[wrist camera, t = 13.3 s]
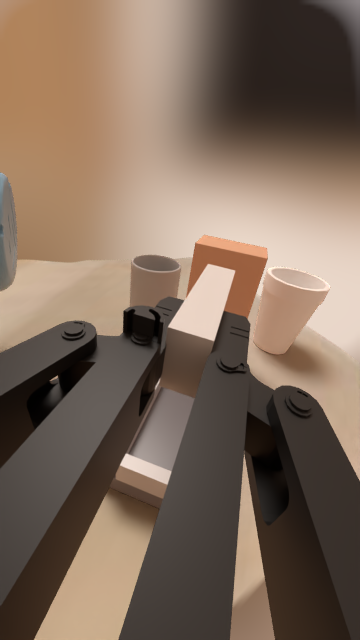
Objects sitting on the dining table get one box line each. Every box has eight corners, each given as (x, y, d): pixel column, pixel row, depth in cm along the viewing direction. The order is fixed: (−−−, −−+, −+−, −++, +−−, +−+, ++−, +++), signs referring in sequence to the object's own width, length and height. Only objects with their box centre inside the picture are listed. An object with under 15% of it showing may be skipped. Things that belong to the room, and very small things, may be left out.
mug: (182, 324, 46) (191, 270, 40) (140, 334, 41) (144, 274, 35) (153, 296, 54) (158, 247, 48) (116, 302, 49) (116, 249, 44)
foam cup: (285, 368, 39) (321, 297, 32) (235, 341, 43) (258, 273, 36) (302, 345, 45) (335, 281, 38) (257, 323, 50) (280, 263, 43)
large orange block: (230, 369, 33) (267, 259, 25) (176, 353, 35) (194, 243, 26) (234, 345, 38) (266, 247, 30) (186, 331, 40) (205, 234, 31)
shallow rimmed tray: (212, 531, 20) (225, 508, 17) (103, 484, 21) (102, 457, 19) (237, 352, 41) (245, 331, 38) (181, 336, 42) (185, 314, 40)
